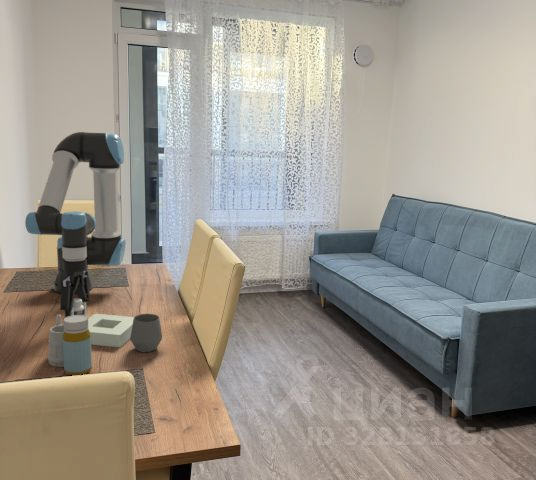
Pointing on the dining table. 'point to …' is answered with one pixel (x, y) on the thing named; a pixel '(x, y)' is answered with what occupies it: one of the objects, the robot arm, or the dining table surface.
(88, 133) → the robot arm
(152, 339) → the cup
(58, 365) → the mug
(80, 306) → the pill bottle
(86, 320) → the bottle
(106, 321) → the socket block
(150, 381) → the dining table surface
